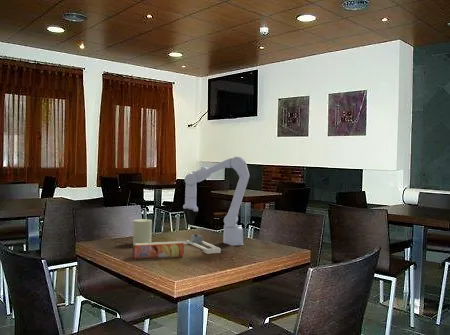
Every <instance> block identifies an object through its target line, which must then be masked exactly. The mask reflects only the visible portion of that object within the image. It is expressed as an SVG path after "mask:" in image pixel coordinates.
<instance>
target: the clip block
mask: <svg viewBox="0 0 450 335" xmlns="http://www.w3.org/2000/svg"><path fill="white" fill-rule="evenodd" d="M189 241H191V242H193V243H196V244H198V245H203V244H202V241H203V236H202V235H200V234H199V233H194V234H191V235H190V240H189Z"/></svg>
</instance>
